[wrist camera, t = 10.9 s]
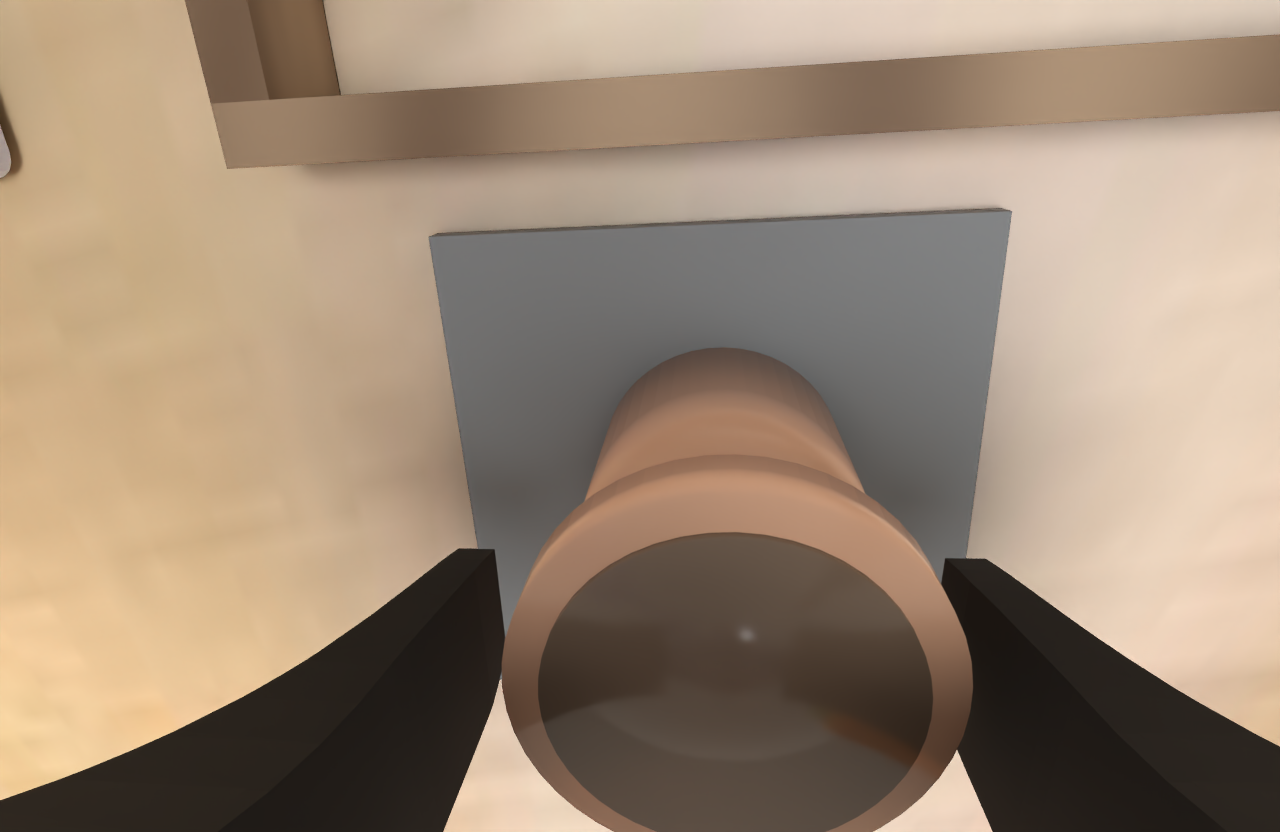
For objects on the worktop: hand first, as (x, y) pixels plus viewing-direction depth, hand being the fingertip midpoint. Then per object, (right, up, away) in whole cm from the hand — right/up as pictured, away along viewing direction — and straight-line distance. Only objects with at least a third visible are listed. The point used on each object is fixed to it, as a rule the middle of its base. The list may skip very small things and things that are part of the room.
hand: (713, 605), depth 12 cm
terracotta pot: (+1, +2, +4) cm, 4 cm away
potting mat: (0, +2, +5) cm, 5 cm away
